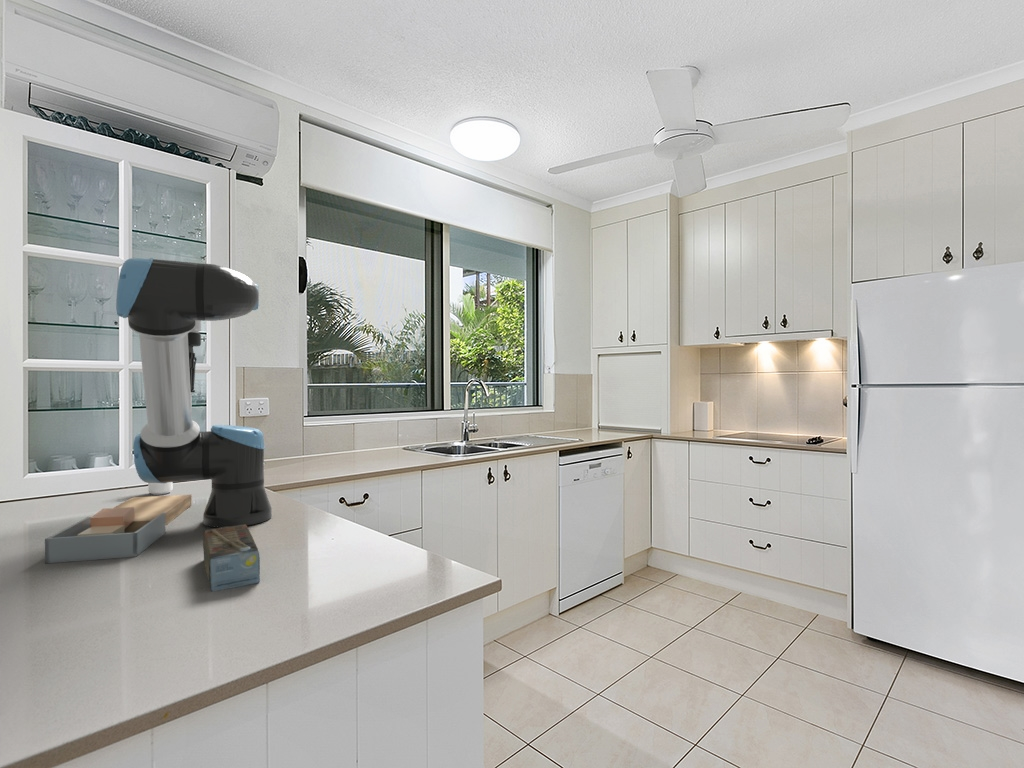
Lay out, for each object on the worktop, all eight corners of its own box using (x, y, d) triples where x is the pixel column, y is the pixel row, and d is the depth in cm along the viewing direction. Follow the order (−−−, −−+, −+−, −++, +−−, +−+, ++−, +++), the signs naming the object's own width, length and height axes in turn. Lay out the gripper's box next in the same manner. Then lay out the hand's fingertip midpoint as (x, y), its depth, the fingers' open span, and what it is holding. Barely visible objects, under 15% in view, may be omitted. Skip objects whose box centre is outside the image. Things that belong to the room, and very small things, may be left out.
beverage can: (143, 495, 163) (143, 454, 162) (159, 490, 169) (159, 452, 169) (161, 495, 162) (161, 455, 161) (177, 491, 168) (177, 452, 168)
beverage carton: (207, 594, 89) (207, 554, 89) (202, 560, 106) (202, 527, 105) (260, 584, 94) (260, 546, 93) (247, 553, 110) (247, 521, 110)
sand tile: (124, 538, 117) (124, 524, 117) (112, 547, 111) (112, 532, 111) (91, 540, 115) (91, 526, 115) (77, 549, 109) (77, 534, 109)
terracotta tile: (134, 519, 122) (134, 507, 122) (123, 529, 117) (123, 516, 116) (103, 521, 121) (103, 508, 120) (90, 531, 115) (90, 518, 115)
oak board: (191, 505, 150) (191, 494, 150) (155, 533, 123) (155, 520, 123) (132, 508, 146) (132, 497, 146) (82, 538, 119) (82, 524, 119)
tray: (165, 532, 123) (165, 512, 123) (136, 556, 107) (136, 533, 107) (87, 537, 119) (87, 516, 119) (45, 563, 103) (44, 539, 103)
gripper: (177, 333, 157) (177, 414, 158) (162, 329, 145) (162, 417, 145) (206, 334, 160) (206, 414, 160) (193, 330, 147) (193, 417, 147)
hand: (185, 415), depth 153 cm, fingers closed
